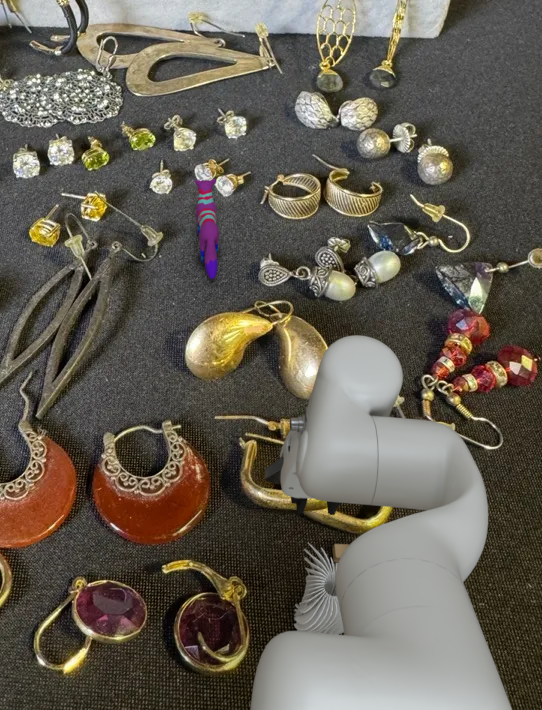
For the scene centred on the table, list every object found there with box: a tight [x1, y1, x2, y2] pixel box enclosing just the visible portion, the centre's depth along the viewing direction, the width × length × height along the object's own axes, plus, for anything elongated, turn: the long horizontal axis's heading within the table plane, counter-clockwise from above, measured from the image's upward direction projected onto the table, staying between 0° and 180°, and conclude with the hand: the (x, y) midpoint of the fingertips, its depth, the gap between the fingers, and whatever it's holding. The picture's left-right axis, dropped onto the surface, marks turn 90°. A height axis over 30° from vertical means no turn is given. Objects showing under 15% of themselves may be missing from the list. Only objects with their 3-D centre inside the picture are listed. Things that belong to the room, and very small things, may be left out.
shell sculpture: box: [293, 541, 344, 635], centre depth 96 cm, size 8×8×18 cm
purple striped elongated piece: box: [194, 178, 220, 280], centre depth 140 cm, size 4×18×10 cm, turn 4°
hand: (314, 501), depth 95 cm, fingers open, 3 cm apart
